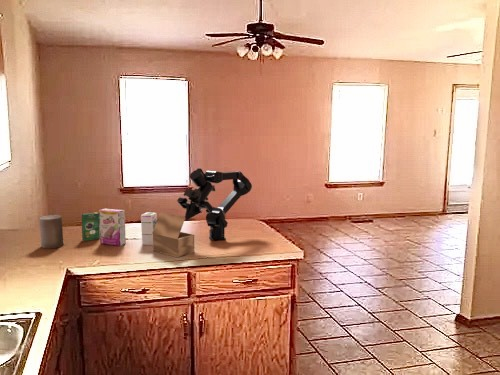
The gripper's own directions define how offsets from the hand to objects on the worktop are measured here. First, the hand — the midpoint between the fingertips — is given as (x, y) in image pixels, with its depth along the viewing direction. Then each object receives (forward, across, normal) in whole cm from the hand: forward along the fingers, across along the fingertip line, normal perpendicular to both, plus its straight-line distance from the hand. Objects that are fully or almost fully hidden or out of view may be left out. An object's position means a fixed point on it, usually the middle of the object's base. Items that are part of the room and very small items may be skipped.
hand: (185, 219), depth 223 cm
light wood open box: (+15, 0, +4) cm, 15 cm away
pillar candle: (+36, -51, -16) cm, 64 cm away
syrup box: (+13, -19, +6) cm, 24 cm away
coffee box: (+23, -47, -4) cm, 52 cm away
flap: (+8, 0, -6) cm, 10 cm away
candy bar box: (+22, -32, -2) cm, 38 cm away
